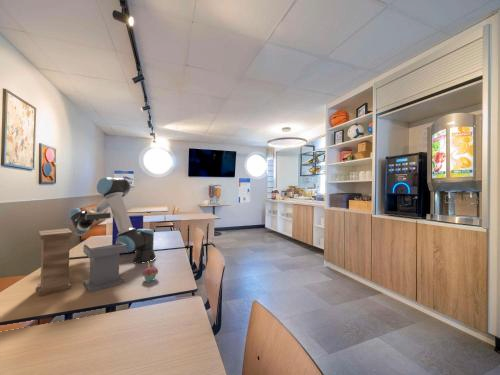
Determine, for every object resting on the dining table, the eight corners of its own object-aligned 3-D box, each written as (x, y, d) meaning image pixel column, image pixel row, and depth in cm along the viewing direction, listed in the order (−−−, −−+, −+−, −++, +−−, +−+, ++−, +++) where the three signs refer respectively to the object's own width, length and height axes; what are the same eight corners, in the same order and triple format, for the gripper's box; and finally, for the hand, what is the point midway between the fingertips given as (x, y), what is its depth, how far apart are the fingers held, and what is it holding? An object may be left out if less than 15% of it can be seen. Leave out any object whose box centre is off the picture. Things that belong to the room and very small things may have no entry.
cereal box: (141, 249, 186) (142, 214, 186) (142, 250, 181) (143, 215, 181) (111, 252, 174) (112, 215, 174) (111, 254, 169) (112, 216, 169)
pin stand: (37, 286, 114) (38, 230, 114) (66, 280, 123) (68, 228, 123) (39, 296, 105) (40, 235, 105) (70, 288, 114) (72, 232, 114)
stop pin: (77, 215, 140) (77, 210, 140) (99, 214, 149) (99, 209, 149) (86, 220, 123) (86, 214, 123) (110, 218, 132) (110, 213, 132)
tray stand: (82, 283, 120) (83, 245, 120) (116, 274, 132) (117, 240, 132) (88, 292, 110) (89, 250, 110) (125, 282, 122) (126, 244, 122)
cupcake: (151, 283, 121) (152, 262, 121) (138, 282, 123) (139, 261, 123) (160, 277, 130) (161, 257, 130) (148, 276, 132) (148, 256, 132)
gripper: (99, 227, 157) (107, 214, 143) (70, 230, 145) (77, 216, 131) (98, 217, 159) (106, 203, 145) (70, 219, 147) (76, 205, 134)
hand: (92, 209), depth 138 cm, fingers closed on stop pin, 3 cm apart
